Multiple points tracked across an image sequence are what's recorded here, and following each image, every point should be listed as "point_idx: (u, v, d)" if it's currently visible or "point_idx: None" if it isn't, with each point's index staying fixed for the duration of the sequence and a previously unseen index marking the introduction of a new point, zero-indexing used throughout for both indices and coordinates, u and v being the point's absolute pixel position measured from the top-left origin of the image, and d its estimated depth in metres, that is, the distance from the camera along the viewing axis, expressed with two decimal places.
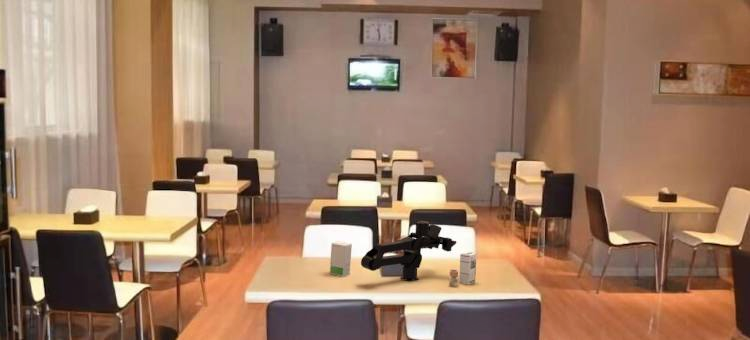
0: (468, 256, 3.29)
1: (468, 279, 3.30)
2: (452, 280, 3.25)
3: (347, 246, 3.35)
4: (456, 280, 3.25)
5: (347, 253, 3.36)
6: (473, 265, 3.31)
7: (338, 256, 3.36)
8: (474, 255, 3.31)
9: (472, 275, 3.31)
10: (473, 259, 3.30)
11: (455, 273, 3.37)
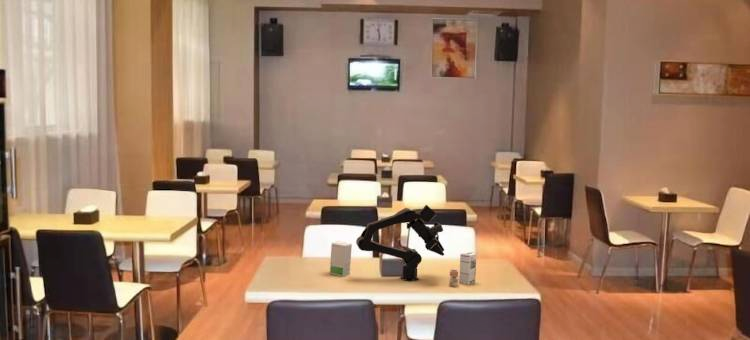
0: (468, 256, 3.29)
1: (468, 279, 3.30)
2: (452, 280, 3.25)
3: (347, 246, 3.35)
4: (456, 280, 3.25)
5: (347, 253, 3.36)
6: (473, 265, 3.31)
7: (338, 256, 3.36)
8: (474, 255, 3.31)
9: (472, 275, 3.31)
10: (473, 259, 3.30)
11: (455, 273, 3.37)
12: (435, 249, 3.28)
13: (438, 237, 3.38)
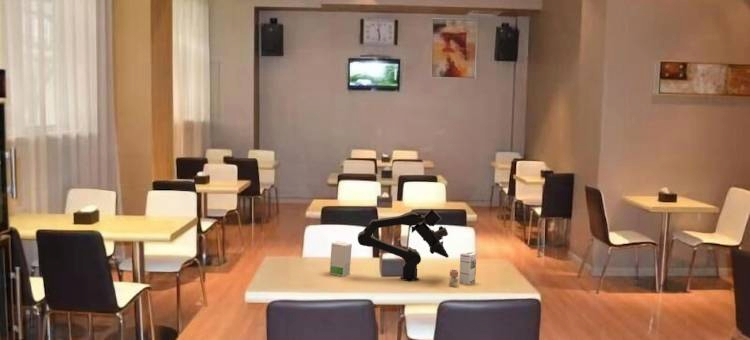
0: (468, 256, 3.29)
1: (468, 279, 3.30)
2: (452, 280, 3.25)
3: (347, 246, 3.35)
4: (456, 280, 3.25)
5: (347, 253, 3.36)
6: (473, 265, 3.31)
7: (338, 256, 3.36)
8: (474, 255, 3.31)
9: (472, 275, 3.31)
10: (473, 259, 3.30)
11: (455, 273, 3.37)
12: (440, 251, 3.32)
13: (442, 243, 3.33)
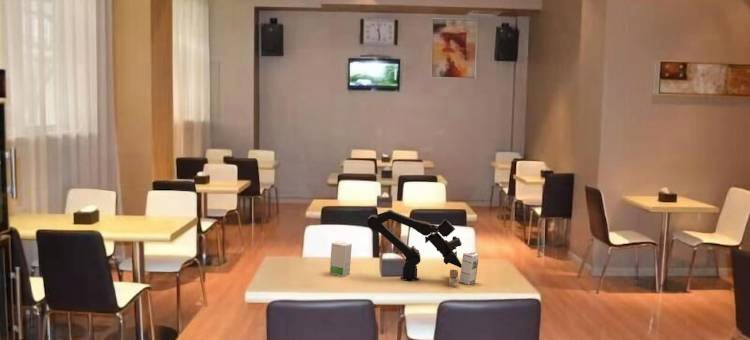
0: (471, 256, 3.28)
1: (468, 279, 3.29)
2: (452, 280, 3.25)
3: (347, 246, 3.35)
4: (456, 280, 3.25)
5: (347, 253, 3.36)
6: (475, 266, 3.30)
7: (338, 256, 3.36)
8: (477, 256, 3.30)
9: (473, 275, 3.31)
10: (475, 259, 3.29)
11: (455, 273, 3.37)
12: (453, 261, 3.32)
13: (456, 253, 3.33)
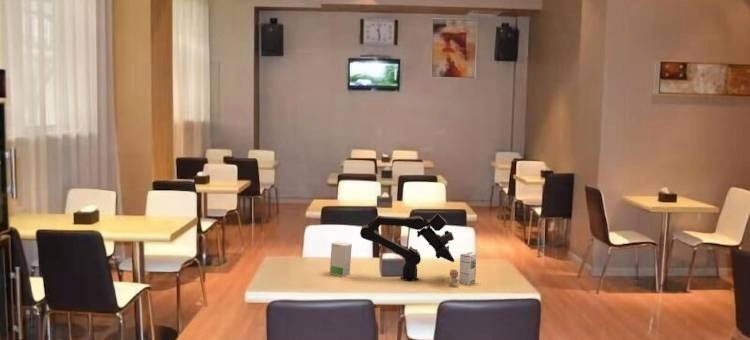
0: (468, 256, 3.29)
1: (468, 279, 3.30)
2: (452, 280, 3.25)
3: (347, 246, 3.35)
4: (456, 280, 3.25)
5: (347, 253, 3.36)
6: (473, 265, 3.31)
7: (338, 256, 3.36)
8: (474, 255, 3.31)
9: (472, 275, 3.31)
10: (473, 259, 3.30)
11: (455, 273, 3.37)
12: (445, 255, 3.32)
13: (448, 247, 3.33)
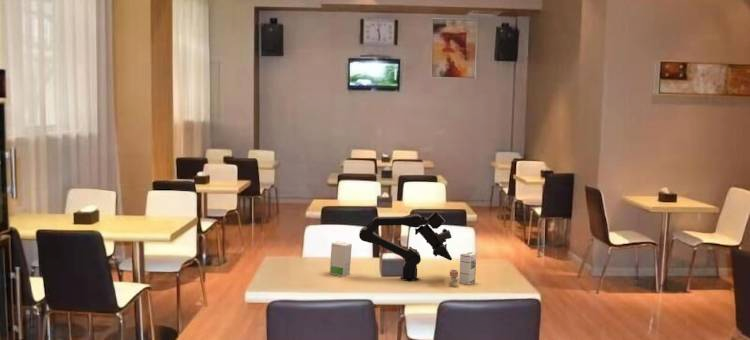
0: (468, 256, 3.29)
1: (468, 279, 3.30)
2: (452, 280, 3.25)
3: (347, 246, 3.35)
4: (456, 280, 3.25)
5: (347, 253, 3.36)
6: (473, 265, 3.31)
7: (338, 256, 3.36)
8: (474, 255, 3.31)
9: (472, 275, 3.31)
10: (473, 259, 3.30)
11: (455, 273, 3.37)
12: (443, 253, 3.32)
13: (446, 246, 3.33)
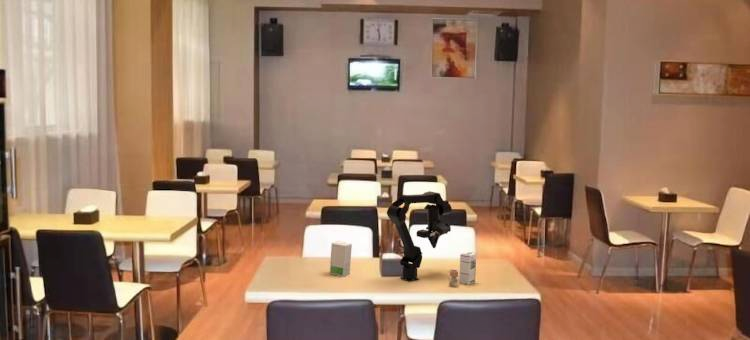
0: (468, 256, 3.29)
1: (468, 279, 3.30)
2: (452, 280, 3.25)
3: (347, 246, 3.35)
4: (456, 280, 3.25)
5: (347, 253, 3.36)
6: (473, 265, 3.31)
7: (338, 256, 3.36)
8: (474, 255, 3.31)
9: (472, 275, 3.31)
10: (473, 259, 3.30)
11: (455, 273, 3.37)
12: (430, 238, 3.43)
13: (438, 235, 3.42)
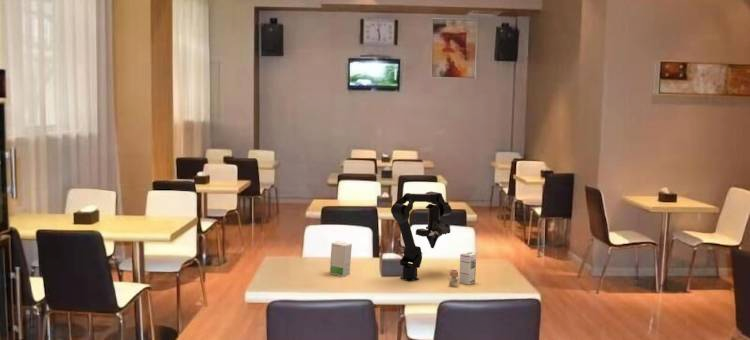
0: (468, 256, 3.29)
1: (468, 279, 3.30)
2: (452, 280, 3.25)
3: (347, 246, 3.35)
4: (456, 280, 3.25)
5: (347, 253, 3.36)
6: (473, 265, 3.31)
7: (338, 256, 3.36)
8: (474, 255, 3.31)
9: (472, 275, 3.31)
10: (473, 259, 3.30)
11: (455, 273, 3.37)
12: (429, 238, 3.45)
13: (437, 236, 3.43)
